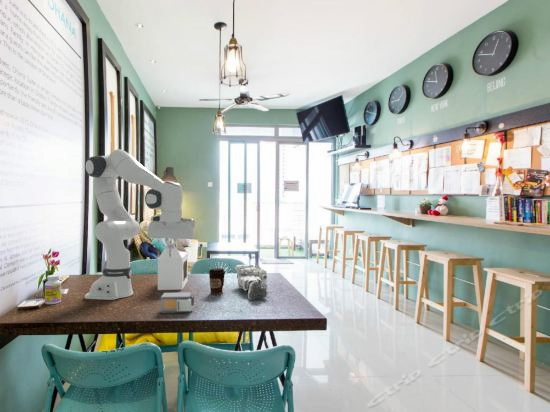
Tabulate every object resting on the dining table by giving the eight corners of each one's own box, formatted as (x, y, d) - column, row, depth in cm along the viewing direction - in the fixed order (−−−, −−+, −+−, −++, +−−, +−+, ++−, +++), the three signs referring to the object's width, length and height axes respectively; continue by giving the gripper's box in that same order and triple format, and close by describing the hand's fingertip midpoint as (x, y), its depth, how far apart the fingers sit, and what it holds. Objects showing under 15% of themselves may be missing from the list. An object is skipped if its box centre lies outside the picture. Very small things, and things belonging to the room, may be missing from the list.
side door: (176, 311, 154) (176, 300, 154) (177, 310, 156) (177, 299, 156) (190, 311, 155) (190, 300, 155) (191, 309, 157) (191, 299, 157)
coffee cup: (221, 296, 185) (221, 270, 184) (206, 295, 186) (206, 270, 186) (227, 291, 193) (227, 267, 193) (212, 290, 195) (212, 267, 195)
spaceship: (260, 281, 213) (260, 262, 211) (276, 303, 179) (277, 280, 178) (233, 283, 208) (233, 263, 207) (245, 306, 175) (246, 282, 173)
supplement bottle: (42, 305, 167) (42, 277, 166) (48, 301, 173) (48, 274, 173) (58, 304, 168) (58, 276, 168) (63, 300, 174) (63, 274, 174)
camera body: (160, 313, 156) (160, 297, 155) (164, 308, 163) (164, 292, 163) (192, 312, 157) (192, 296, 157) (194, 307, 164) (194, 292, 164)
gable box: (165, 281, 217) (165, 235, 217) (187, 280, 219) (187, 234, 218) (157, 290, 195) (157, 239, 195) (182, 289, 197) (182, 238, 196)
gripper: (196, 218, 165) (195, 247, 166) (150, 216, 164) (149, 246, 164) (194, 218, 159) (193, 250, 160) (146, 217, 157) (145, 248, 158)
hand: (170, 248), depth 162 cm, fingers closed
